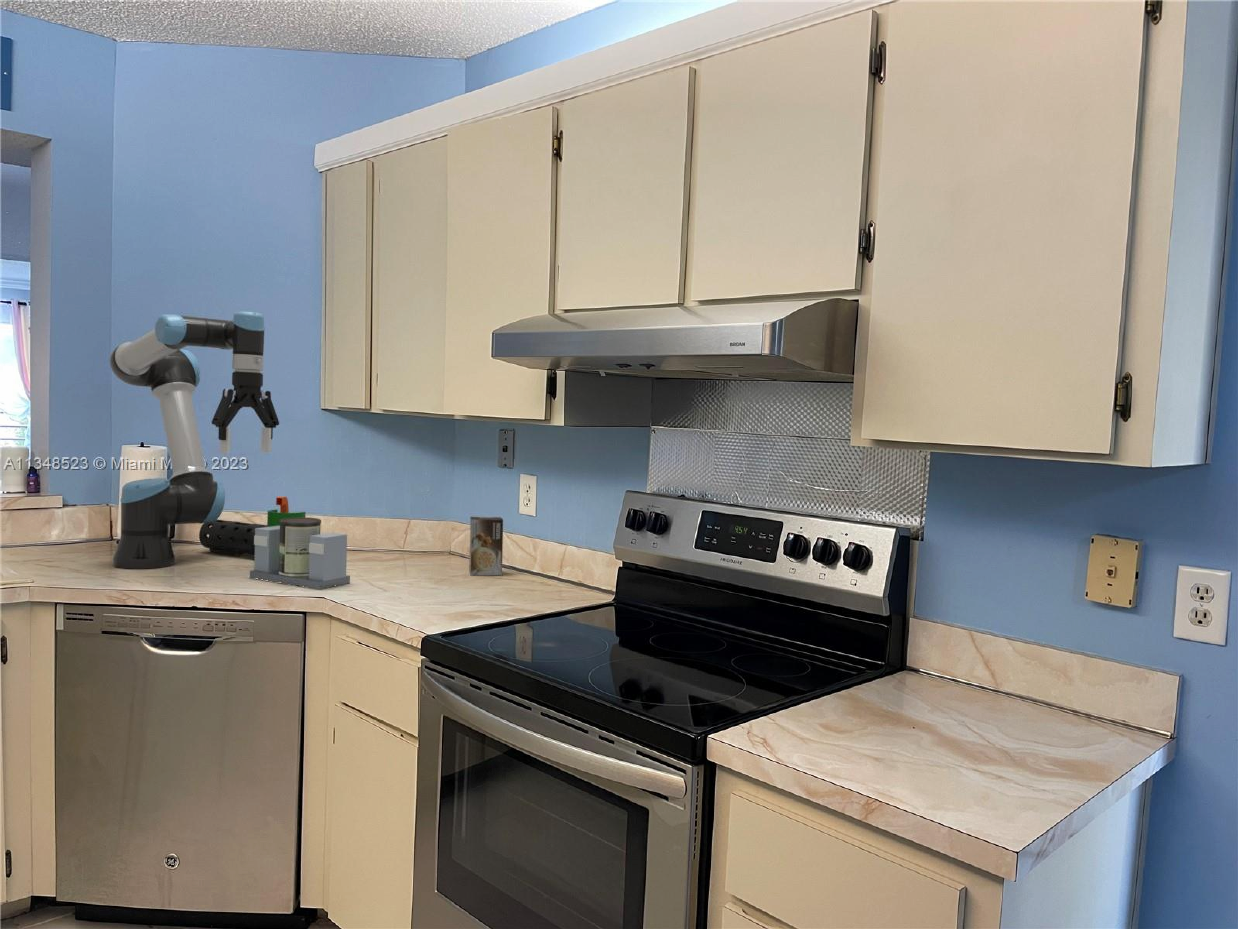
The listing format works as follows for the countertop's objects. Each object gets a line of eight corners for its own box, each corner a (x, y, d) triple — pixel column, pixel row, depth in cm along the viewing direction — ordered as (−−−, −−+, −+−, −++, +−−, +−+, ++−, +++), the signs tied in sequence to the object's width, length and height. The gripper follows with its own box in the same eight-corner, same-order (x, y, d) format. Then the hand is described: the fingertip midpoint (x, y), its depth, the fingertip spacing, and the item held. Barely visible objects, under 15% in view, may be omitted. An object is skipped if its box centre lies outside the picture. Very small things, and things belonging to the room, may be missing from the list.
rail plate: (249, 578, 245) (249, 570, 245) (281, 572, 255) (281, 565, 254) (319, 589, 234) (319, 582, 234) (349, 583, 244) (350, 575, 244)
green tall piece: (307, 564, 268) (309, 495, 267) (297, 570, 259) (298, 498, 258) (272, 563, 268) (273, 493, 267) (260, 568, 259) (262, 496, 258)
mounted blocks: (252, 570, 245) (253, 528, 245) (277, 566, 253) (278, 525, 252) (322, 581, 235) (323, 538, 234) (346, 576, 243) (347, 534, 242)
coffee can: (269, 573, 242) (270, 519, 241) (300, 568, 251) (301, 516, 250) (298, 578, 237) (299, 523, 236) (328, 573, 246) (329, 520, 245)
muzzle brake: (222, 550, 287) (223, 516, 287) (294, 559, 277) (295, 524, 276) (197, 553, 278) (198, 519, 278) (271, 563, 268) (272, 527, 267)
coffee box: (500, 571, 271) (502, 516, 270) (502, 575, 265) (504, 519, 264) (468, 571, 269) (470, 516, 268) (469, 575, 263) (471, 519, 262)
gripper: (218, 369, 232) (217, 454, 233) (294, 374, 254) (292, 452, 255) (197, 368, 235) (195, 452, 236) (273, 373, 257) (271, 450, 259)
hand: (245, 452), depth 246 cm, fingers open, 13 cm apart
